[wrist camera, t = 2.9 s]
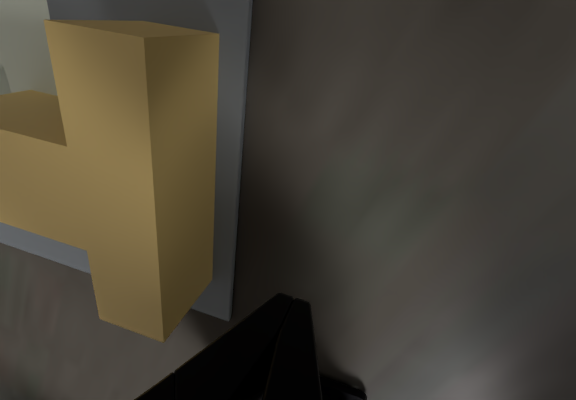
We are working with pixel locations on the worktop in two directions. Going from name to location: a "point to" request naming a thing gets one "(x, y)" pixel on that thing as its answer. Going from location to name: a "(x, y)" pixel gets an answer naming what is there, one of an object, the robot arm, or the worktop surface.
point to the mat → (230, 107)
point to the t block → (121, 163)
